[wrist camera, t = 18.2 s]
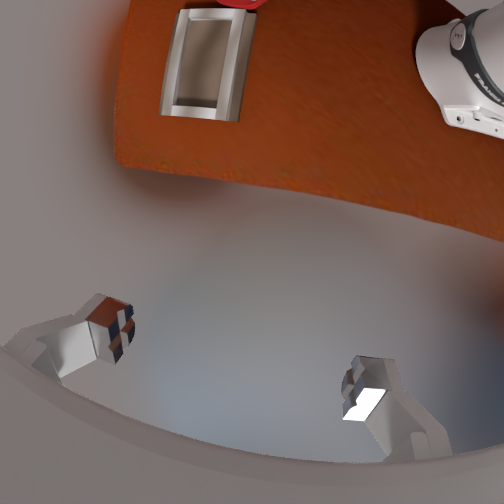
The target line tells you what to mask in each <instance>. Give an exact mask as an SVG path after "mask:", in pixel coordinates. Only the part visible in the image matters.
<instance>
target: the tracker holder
mask: <svg viewBox="0 0 504 504" xmlns="http://www.w3.org/2000/svg"><path fill="white" fill-rule="evenodd" d="M216 1H217V2H218V3H220V4H223V5H226V6H230V7H235V8H241V9H255V8H257V7H258V6H260V5H261V4H263V3H264V2H266V1H268V0H216Z"/></svg>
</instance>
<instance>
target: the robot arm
mask: <svg viewBox="0 0 504 504" xmlns="http://www.w3.org/2000/svg"><path fill="white" fill-rule="evenodd" d="M416 62H417V67H418V70H419V73H420V76H421V78H422V80H423V82H424V84H425V86H426V88H427V89H428V91H429V92H430V93H431V95H432V96H433V97H434V98H435V100H436V101H437V102H438V104H439V106H440V109H441V112H442V115H443V118H444V120H445V121H446V123H447V124H448V125H451V126H455V127H460V128H464V129H468V130H472V131H476V132H480V133H484V134H487V135H491V136H494V137H498V138H501V139H504V1H503V2H501V3H500V4H498V5H497V6H495V7H493V8H491V9H482V10H479V11H476V12H475V13H472V14H470V15H468V16H466V17H465V18H463V19H462V20H460V19H454V20H452V21H450V22H449V23H448V24H447V25H443V26H437V27H433V28H430V29H428V30H426V31H425V32H424V33H423V34H422V35H421V37H420V38H419V40H418V43H417V47H416ZM457 116H458V117H459V121H457ZM133 314H134V310H133V306H132V305H131V304H128V303H126V302H123V301H120V300H117V299H114V298H111V297H108V296H105V295H102V294H100V293H98V294H95V295H94V296H93V297H92V298H91V299H90V300H89V301H88V302H87V303H86V304H85V305H84V306H83V307H82V308H81V309H80V310H78V311H77V312H76V314H74V315H72V314H69V315H66V316H63V317H59V318H56V319H53V320H50V321H46V322H43V323H40V324H36V325H33V326H30V327H26V328H23V329H21V330H20V331H19V332H18V333H17V334H16V335H15V336H14V337H13V338H12V339H11V340H10V341H8V343H6V344H5V345H4V346H1V345H0V504H504V444H501V445H497V446H494V447H490V448H486V449H482V450H477V451H473V452H468V453H463V454H457V455H452V451H451V447H450V443H449V440H448V436H447V432H446V429H445V428H444V427H443V426H442V425H441V424H440V423H439V422H438V421H437V420H436V419H435V418H434V417H433V416H431V414H430V413H428V411H427V410H426V409H424V408H423V406H422V405H421V404H420V403H418V402H417V400H416V399H415V398H413V396H411V395H410V394H409V393H408V392H405V391H404V389H403V385H402V382H401V379H400V375H399V371H398V368H397V365H396V362H395V360H394V359H386V358H375V357H366V356H358V355H356V356H355V357H354V358H353V360H352V362H351V366H352V368H351V369H350V370H348V371H346V374H345V376H344V377H343V381H342V387H341V395H342V396H343V397H344V399H345V401H344V403H343V405H342V408H343V419H348V420H358V421H365V424H366V425H367V427H368V428H369V430H370V431H371V433H372V434H373V436H374V437H375V439H376V440H377V442H378V443H379V445H380V446H381V448H382V449H383V451H384V452H385V454H386V455H387V457H386V458H385V459H384V460H383V461H382V462H379V463H348V462H324V461H312V460H302V459H292V458H284V457H277V456H270V455H264V454H258V453H253V452H247V451H242V450H237V449H233V448H228V447H223V446H219V445H215V444H211V443H208V442H204V441H200V440H197V439H193V438H190V437H186V436H183V435H179V434H176V433H173V432H170V431H167V430H164V429H161V428H158V427H155V426H153V425H150V424H147V423H144V422H141V421H139V420H137V419H134V418H132V417H129V416H126V415H124V414H122V413H119V412H117V411H115V410H112V409H110V408H108V407H106V406H104V405H101V404H99V403H97V402H95V401H93V400H91V399H89V398H87V397H85V396H83V395H81V394H79V393H77V392H75V391H73V390H71V389H69V388H67V387H66V386H64V385H63V384H62V382H61V380H60V378H61V377H63V376H65V375H67V374H69V373H70V372H72V371H74V370H76V369H78V368H80V367H82V366H84V365H86V364H88V363H90V362H92V361H94V360H95V359H97V358H99V359H101V360H104V361H106V362H109V363H111V364H114V365H116V363H117V362H118V361H119V359H120V358H121V356H122V355H123V354H124V353H123V348H125V347H127V346H129V345H130V343H131V342H132V340H133V337H134V335H135V322H134V321H133V319H132V318H131V317H132V316H133Z"/></svg>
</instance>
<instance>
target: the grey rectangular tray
mask: <svg viewBox="0 0 504 504" xmlns="http://www.w3.org/2000/svg"><path fill="white" fill-rule="evenodd" d="M257 17H258V16H257V14H256V13H247V11H246V9H226V8H206V9H182V10H181V11H180V13H177V15H176V19H175V23H174V28H173V32H172V37H171V42H170V47H169V52H168V57H167V62H166V68H165V74H164V80H163V86H162V93H161V100H160V107H159V115H169V116H184V117H196V118H207V119H216V120H225V121H234V122H239V118H240V112H241V106H242V100H243V94H244V88H245V82H246V76H247V70H248V65H249V59H250V54H251V48H252V43H253V37H254V32H255V27H256V22H257Z"/></svg>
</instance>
